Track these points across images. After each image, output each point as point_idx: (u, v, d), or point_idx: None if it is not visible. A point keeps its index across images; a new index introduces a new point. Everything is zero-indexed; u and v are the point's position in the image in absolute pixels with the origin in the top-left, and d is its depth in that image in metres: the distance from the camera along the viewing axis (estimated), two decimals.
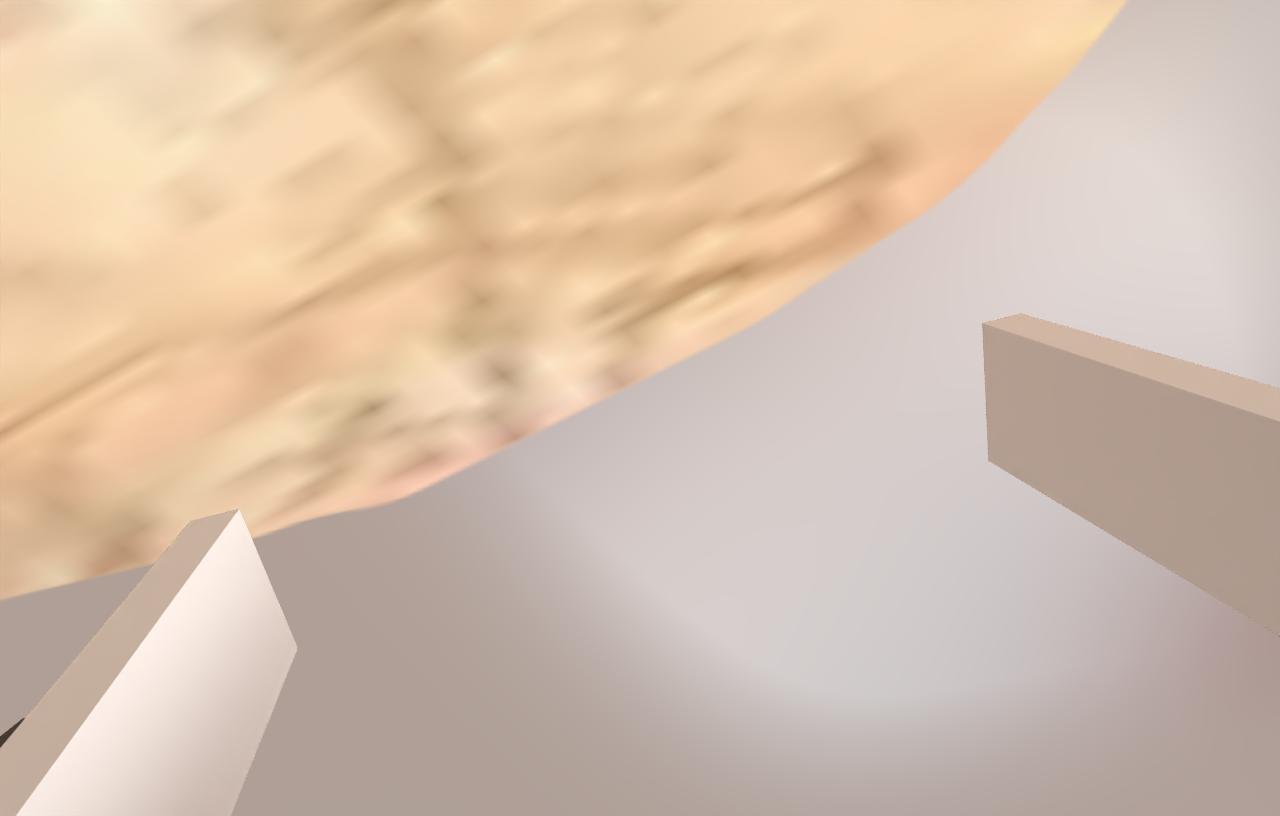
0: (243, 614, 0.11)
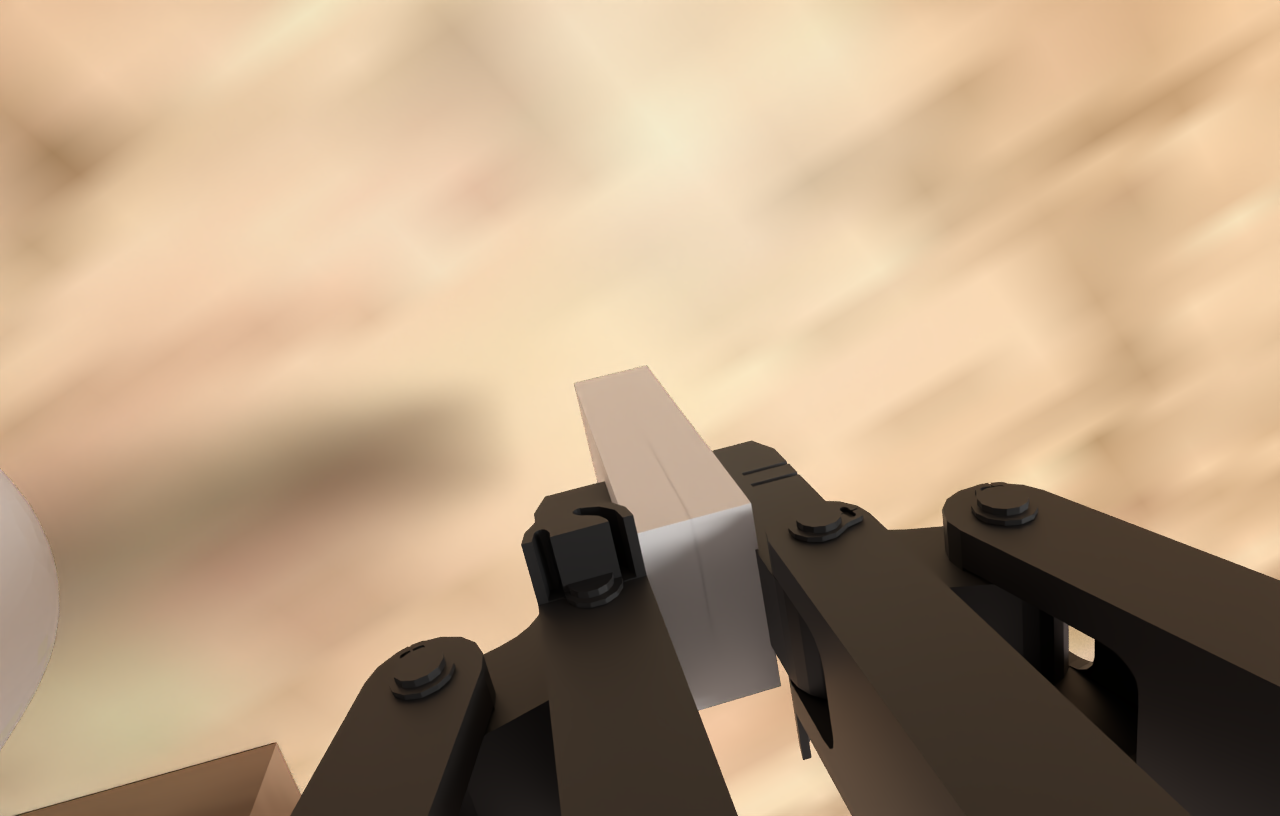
0: None
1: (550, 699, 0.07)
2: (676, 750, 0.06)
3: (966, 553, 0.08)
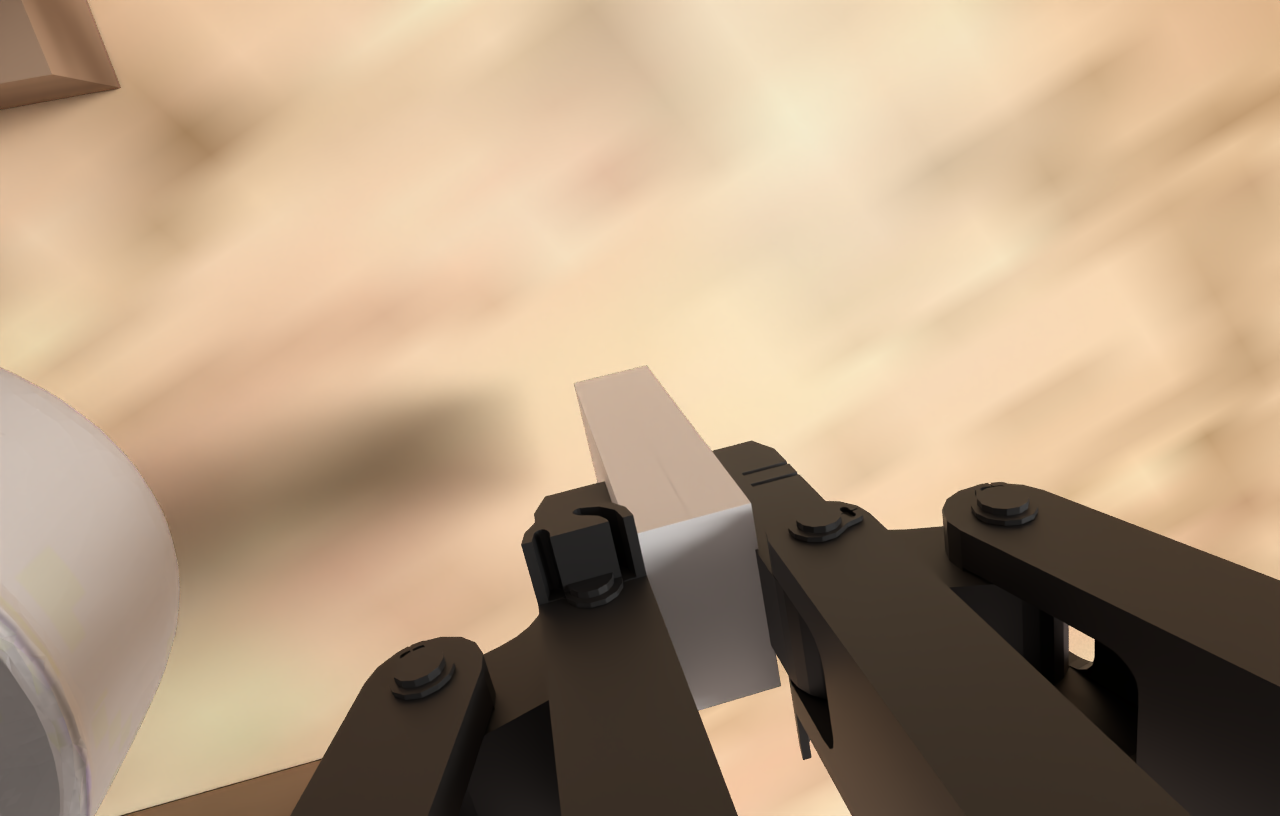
0: None
1: (550, 699, 0.07)
2: (676, 750, 0.06)
3: (966, 553, 0.08)
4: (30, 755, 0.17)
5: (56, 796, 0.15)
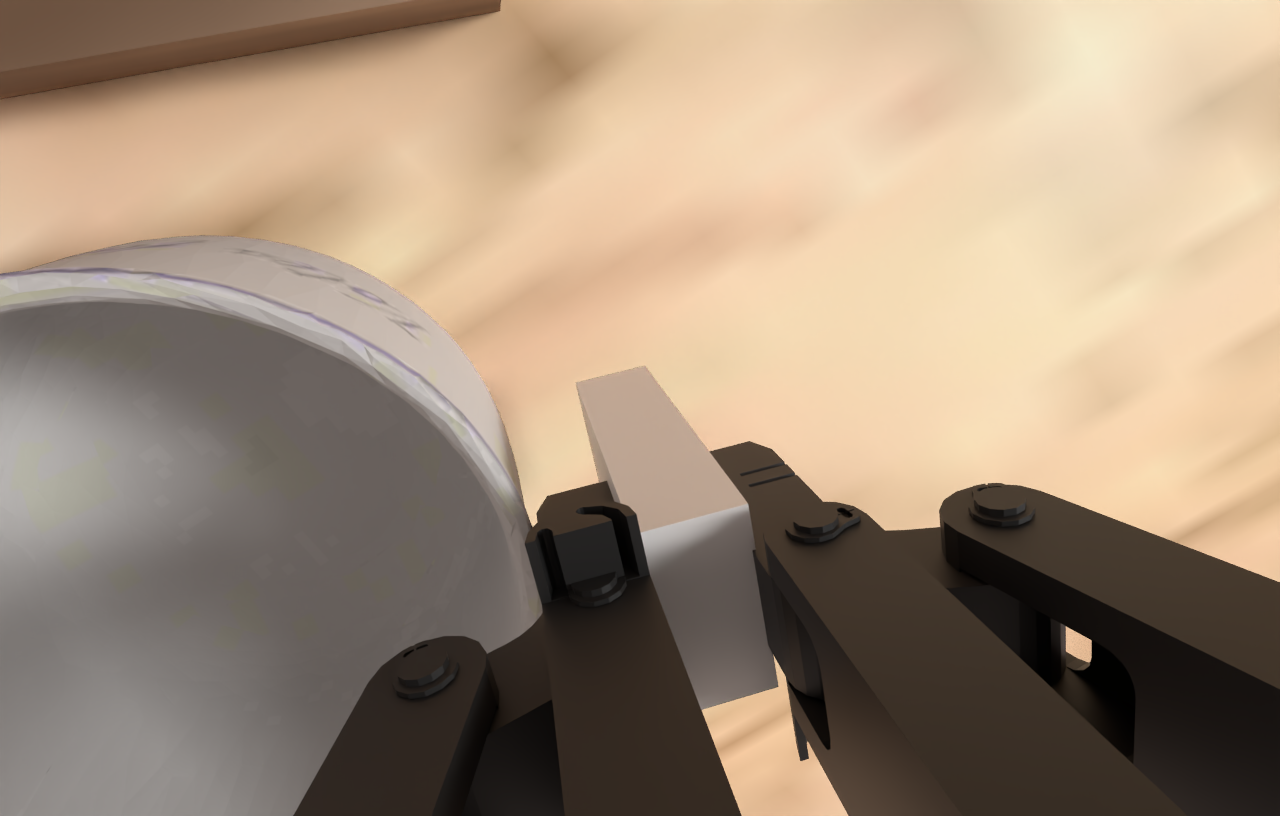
0: None
1: (553, 698, 0.07)
2: (680, 748, 0.06)
3: (963, 554, 0.08)
4: (354, 662, 0.17)
5: None
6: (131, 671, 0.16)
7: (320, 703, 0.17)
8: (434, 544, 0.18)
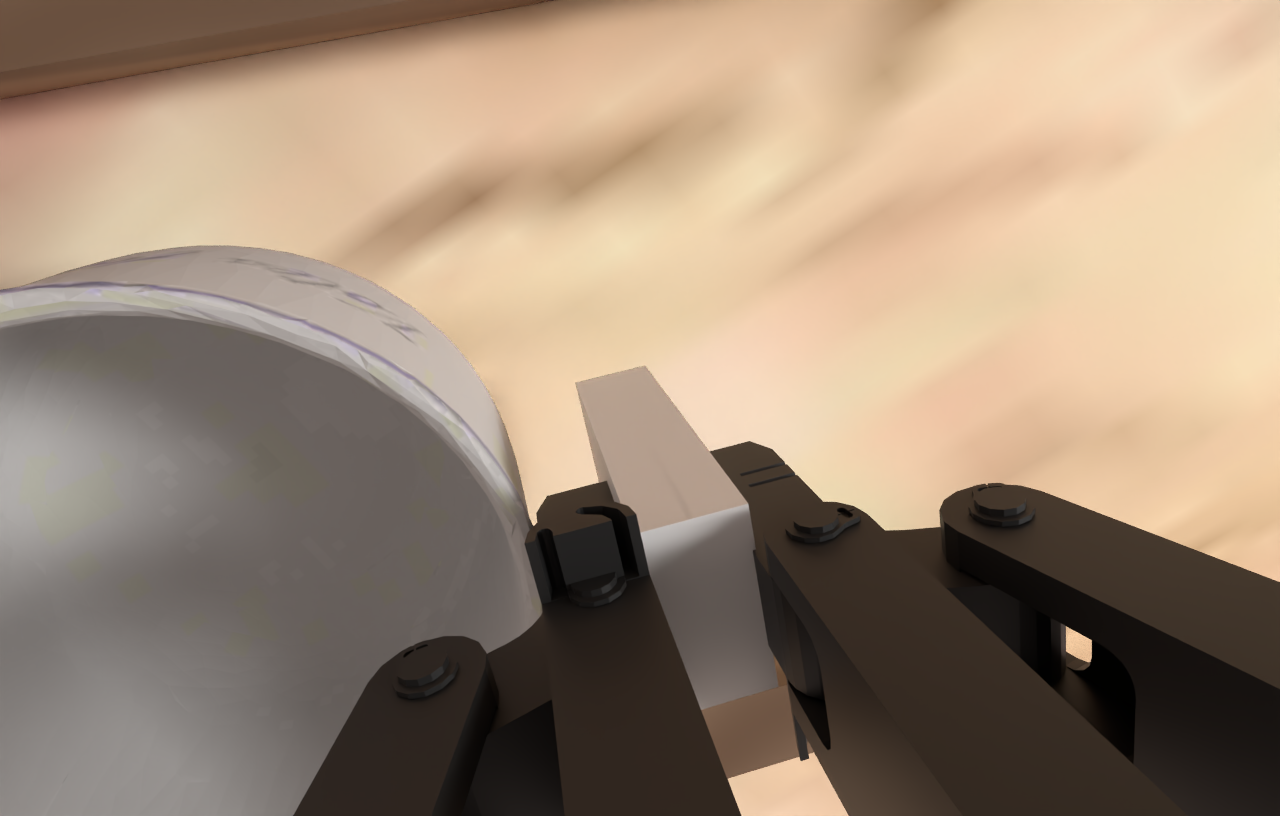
0: None
1: (553, 698, 0.07)
2: (681, 748, 0.06)
3: (963, 554, 0.08)
4: (364, 665, 0.17)
5: None
6: (144, 680, 0.16)
7: (332, 706, 0.17)
8: (440, 545, 0.18)
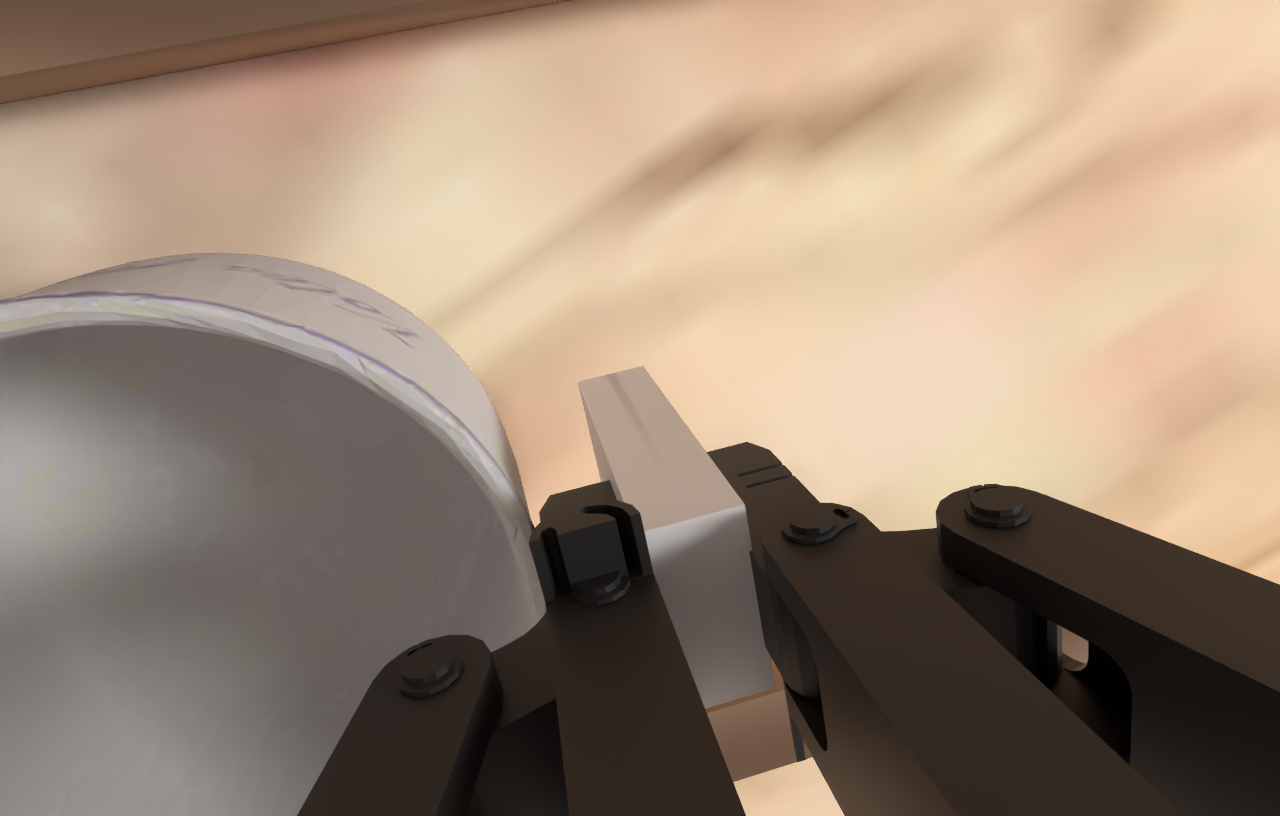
0: None
1: (557, 697, 0.07)
2: (685, 747, 0.06)
3: (960, 555, 0.08)
4: (368, 671, 0.17)
5: None
6: (146, 690, 0.16)
7: (335, 714, 0.17)
8: (441, 550, 0.18)
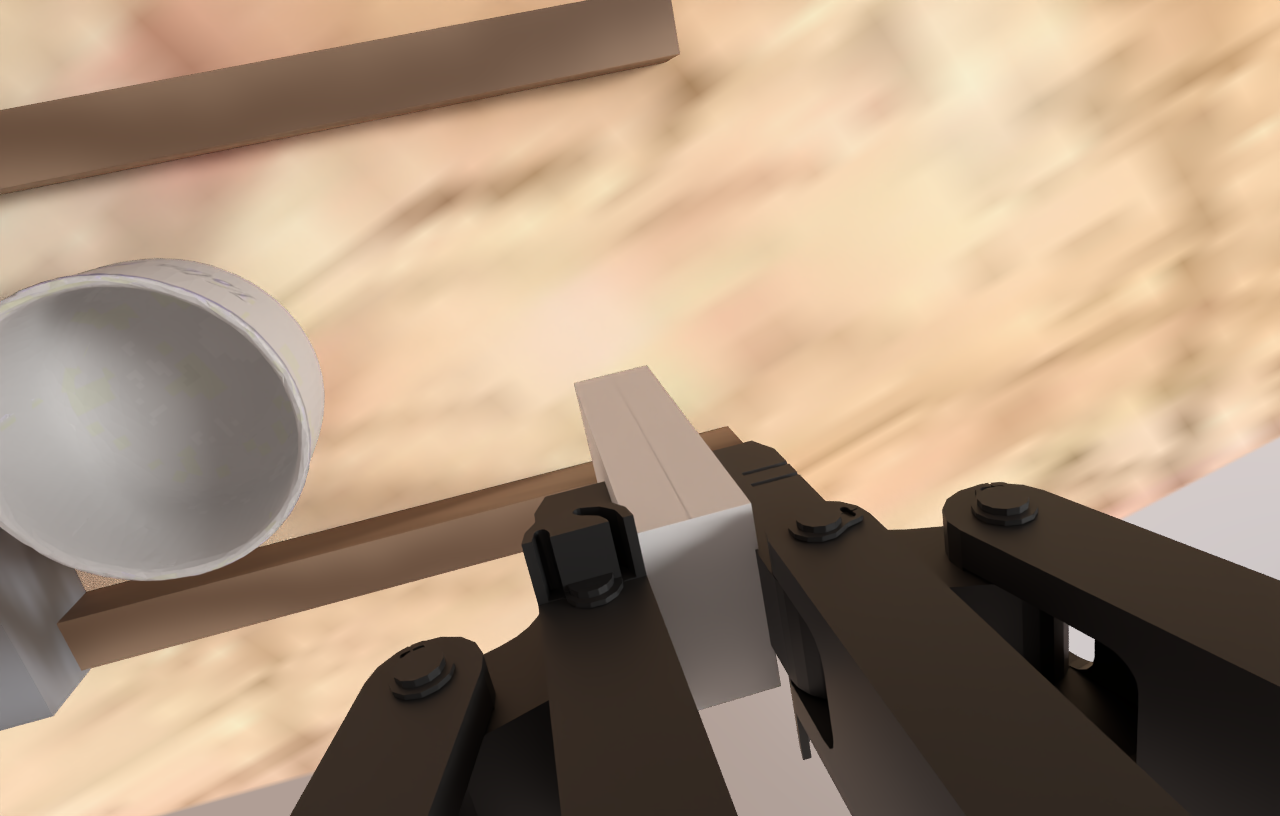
0: None
1: (550, 699, 0.07)
2: (677, 748, 0.06)
3: (966, 553, 0.08)
4: (249, 486, 0.32)
5: (272, 491, 0.30)
6: (127, 488, 0.30)
7: (228, 504, 0.31)
8: (291, 422, 0.32)
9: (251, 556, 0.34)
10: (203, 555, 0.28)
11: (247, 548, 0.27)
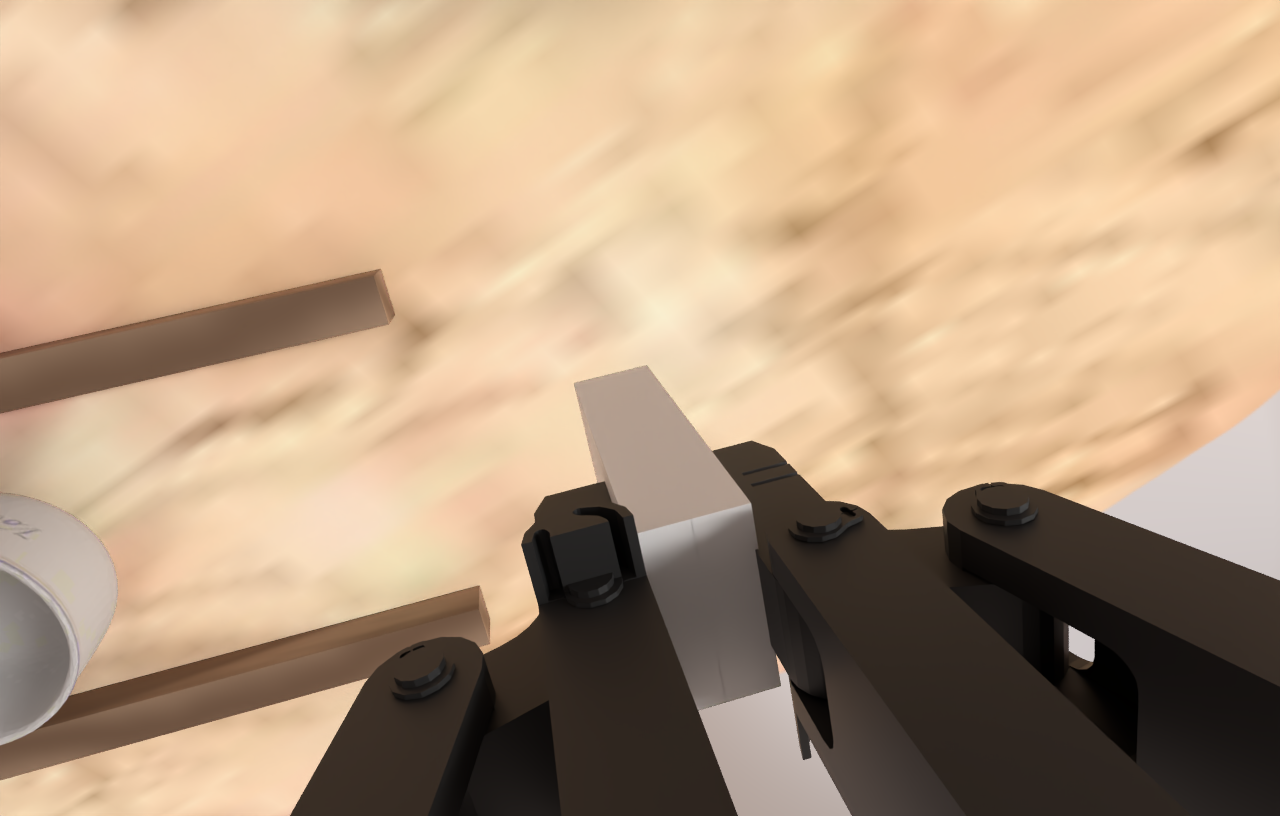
0: None
1: (550, 699, 0.07)
2: (677, 750, 0.06)
3: (966, 553, 0.08)
4: (59, 655, 0.40)
5: None
6: None
7: (39, 673, 0.39)
8: None
9: (72, 702, 0.42)
10: (1, 729, 0.35)
11: (33, 726, 0.35)
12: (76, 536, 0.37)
